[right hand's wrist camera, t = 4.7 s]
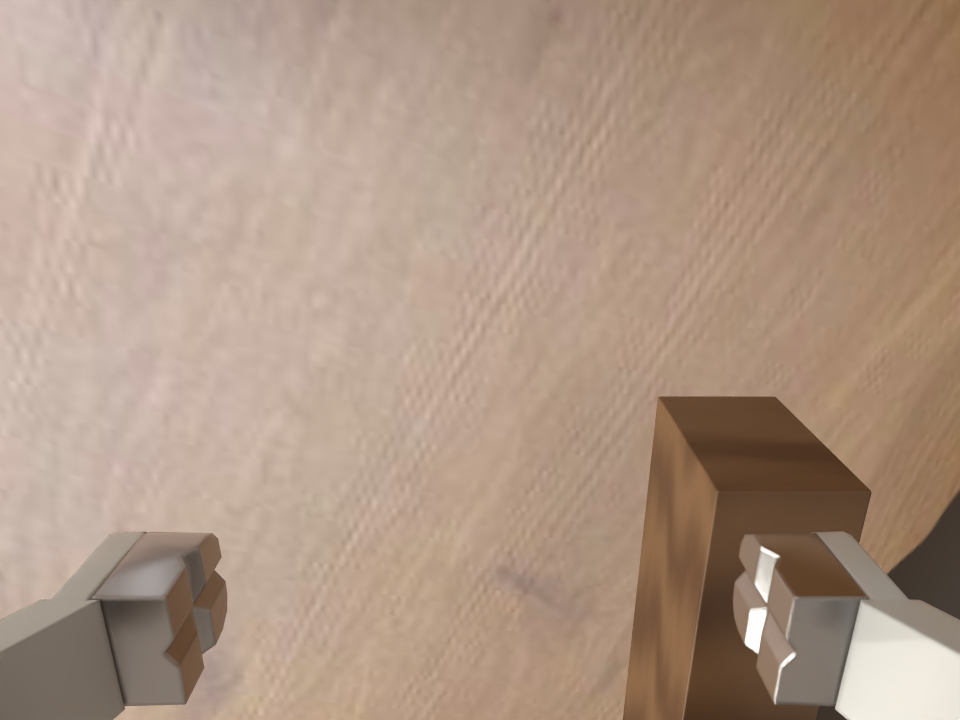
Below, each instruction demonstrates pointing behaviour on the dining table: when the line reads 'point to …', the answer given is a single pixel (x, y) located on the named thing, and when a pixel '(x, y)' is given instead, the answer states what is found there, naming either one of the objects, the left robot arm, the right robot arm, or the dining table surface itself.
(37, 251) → the dining table surface
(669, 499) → the bar
